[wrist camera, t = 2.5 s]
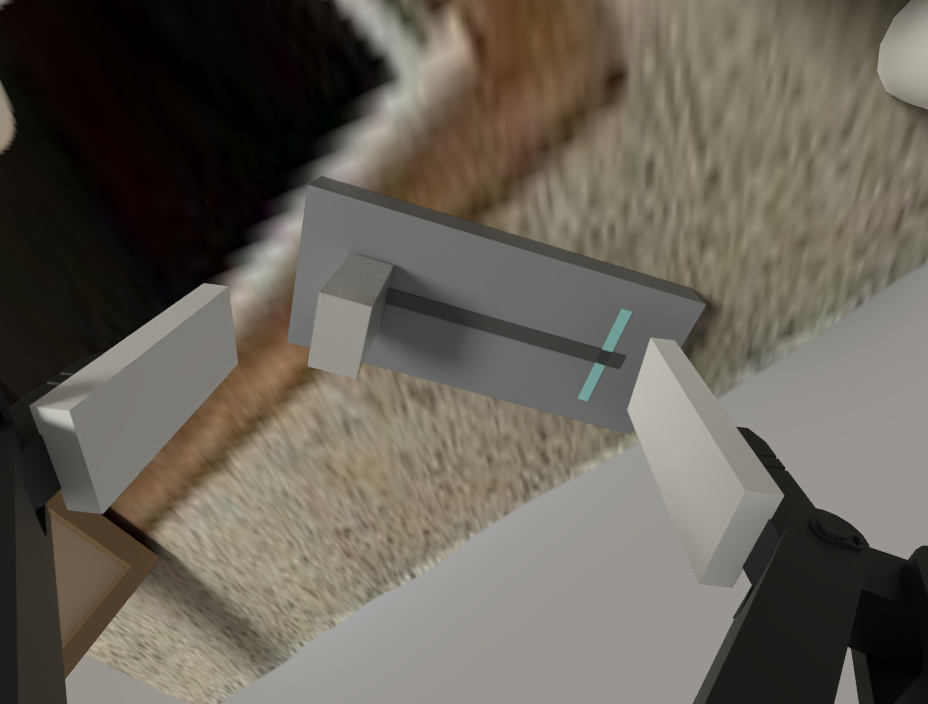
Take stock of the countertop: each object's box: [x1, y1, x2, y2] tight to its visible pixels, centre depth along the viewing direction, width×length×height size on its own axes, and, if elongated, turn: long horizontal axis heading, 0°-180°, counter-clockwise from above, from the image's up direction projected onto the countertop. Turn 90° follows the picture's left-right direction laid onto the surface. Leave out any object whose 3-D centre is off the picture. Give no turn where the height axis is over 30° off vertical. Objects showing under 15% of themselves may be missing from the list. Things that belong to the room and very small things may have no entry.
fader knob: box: [308, 253, 394, 379], centre depth 32 cm, size 3×5×7 cm, turn 164°
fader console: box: [287, 176, 706, 435], centre depth 38 cm, size 28×12×3 cm, turn 74°
